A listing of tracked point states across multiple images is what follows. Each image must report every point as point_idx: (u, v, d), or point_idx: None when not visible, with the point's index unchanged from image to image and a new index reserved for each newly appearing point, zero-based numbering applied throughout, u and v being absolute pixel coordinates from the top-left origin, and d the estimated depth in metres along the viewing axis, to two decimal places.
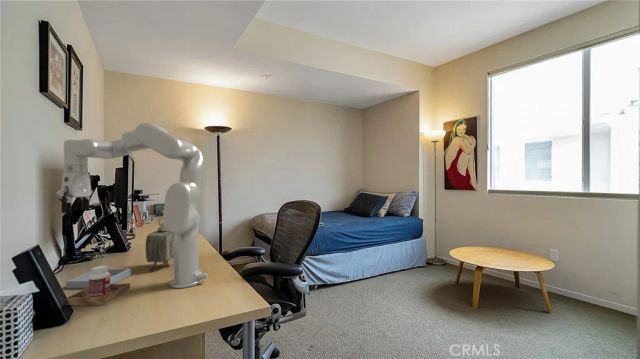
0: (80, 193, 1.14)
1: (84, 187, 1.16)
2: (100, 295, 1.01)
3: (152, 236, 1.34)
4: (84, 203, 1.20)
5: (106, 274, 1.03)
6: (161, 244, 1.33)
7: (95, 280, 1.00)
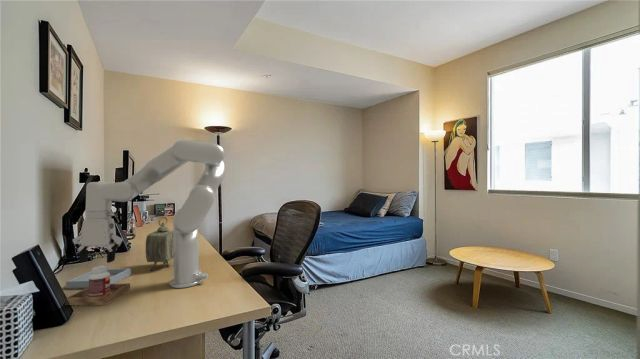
0: None
1: None
2: (100, 295, 1.01)
3: (152, 236, 1.34)
4: (85, 253, 1.03)
5: (106, 274, 1.03)
6: (161, 244, 1.33)
7: (95, 280, 1.00)
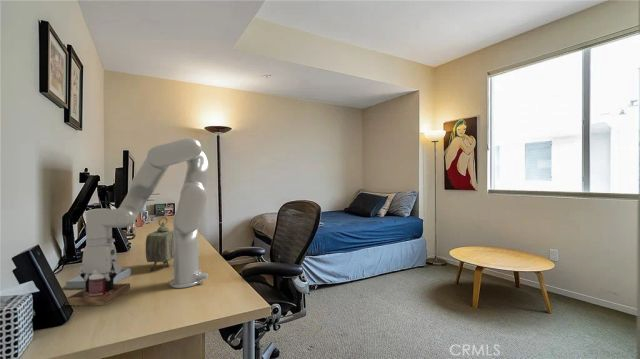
0: None
1: None
2: (100, 295, 1.01)
3: (152, 236, 1.34)
4: None
5: None
6: (161, 244, 1.33)
7: (95, 280, 1.00)
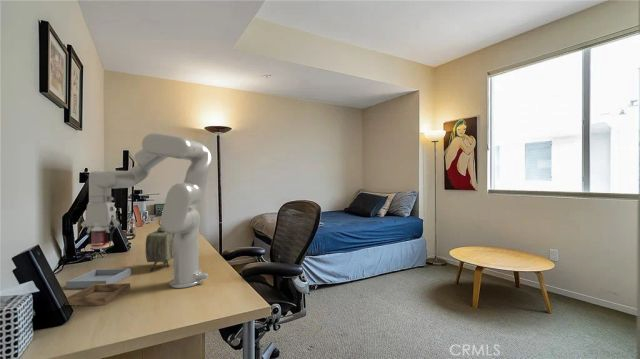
0: None
1: None
2: (101, 245, 1.18)
3: (152, 236, 1.34)
4: None
5: None
6: (161, 244, 1.33)
7: (97, 232, 1.17)
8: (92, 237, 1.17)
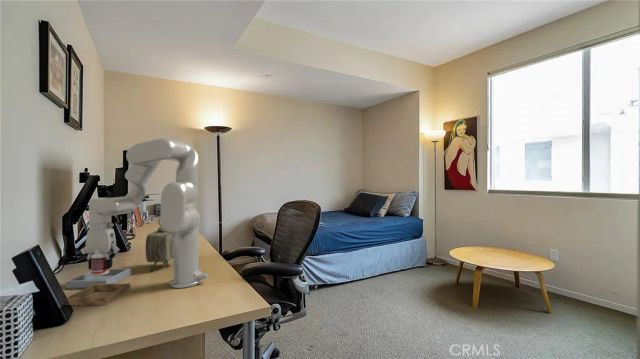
0: None
1: None
2: (101, 272, 1.17)
3: (152, 236, 1.34)
4: None
5: None
6: (161, 244, 1.33)
7: (97, 259, 1.17)
8: (92, 264, 1.17)
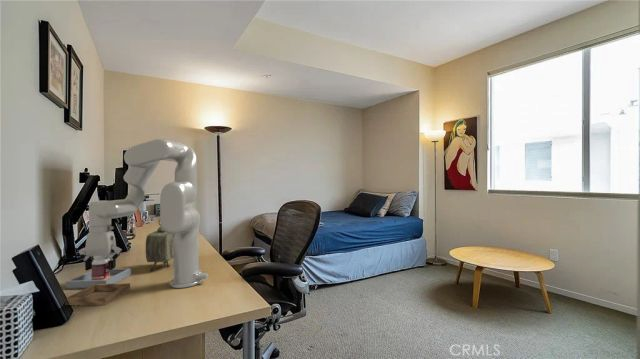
0: None
1: None
2: (101, 278, 1.17)
3: (152, 236, 1.34)
4: (90, 262, 1.20)
5: (106, 260, 1.20)
6: (161, 244, 1.33)
7: (97, 265, 1.17)
8: (92, 271, 1.17)
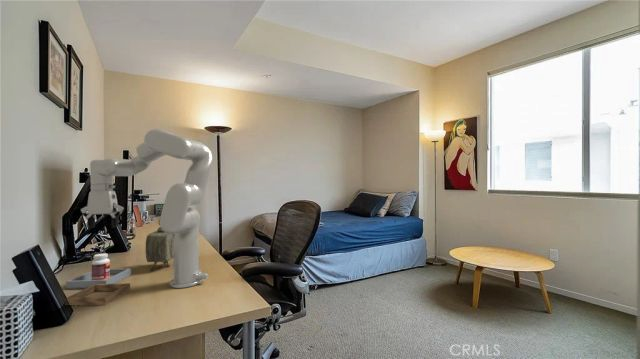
0: None
1: None
2: (101, 278, 1.17)
3: (152, 236, 1.34)
4: (92, 221, 1.21)
5: (106, 260, 1.20)
6: (161, 244, 1.33)
7: (97, 265, 1.17)
8: (92, 271, 1.17)
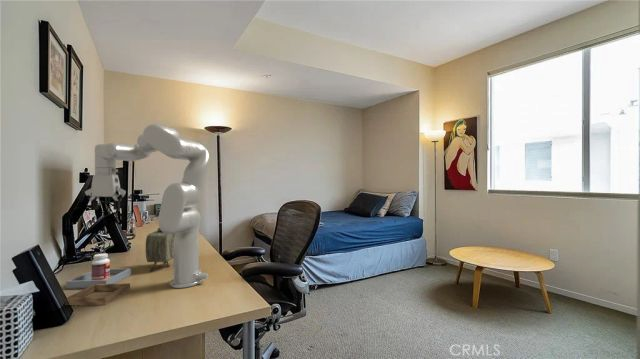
0: None
1: None
2: (101, 278, 1.17)
3: (152, 236, 1.34)
4: (95, 203, 1.26)
5: (106, 260, 1.20)
6: (161, 244, 1.33)
7: (97, 265, 1.17)
8: (92, 271, 1.17)
